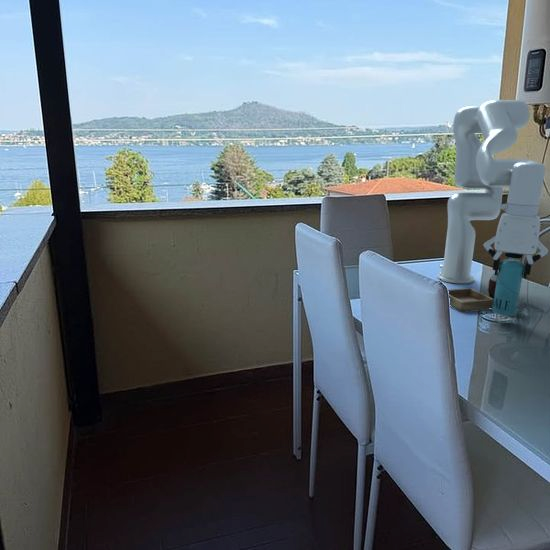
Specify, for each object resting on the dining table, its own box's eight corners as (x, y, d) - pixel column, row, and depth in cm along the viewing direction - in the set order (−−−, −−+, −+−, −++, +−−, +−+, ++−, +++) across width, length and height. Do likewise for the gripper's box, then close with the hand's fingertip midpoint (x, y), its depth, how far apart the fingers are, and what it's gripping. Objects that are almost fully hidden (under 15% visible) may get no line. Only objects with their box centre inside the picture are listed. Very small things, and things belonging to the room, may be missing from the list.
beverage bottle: (514, 313, 133) (526, 246, 127) (517, 322, 127) (530, 252, 121) (489, 310, 135) (500, 244, 129) (491, 319, 129) (503, 250, 123)
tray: (438, 299, 149) (439, 290, 148) (469, 296, 152) (471, 287, 151) (460, 312, 138) (461, 302, 137) (493, 308, 141) (495, 299, 140)
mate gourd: (486, 300, 148) (492, 255, 144) (487, 293, 155) (493, 250, 151) (512, 304, 145) (519, 258, 141) (511, 296, 152) (518, 252, 148)
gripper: (484, 209, 122) (475, 273, 128) (560, 215, 114) (546, 283, 120) (486, 205, 128) (477, 266, 134) (558, 210, 121) (545, 275, 126)
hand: (510, 274), depth 127 cm, fingers closed on beverage bottle, 6 cm apart
